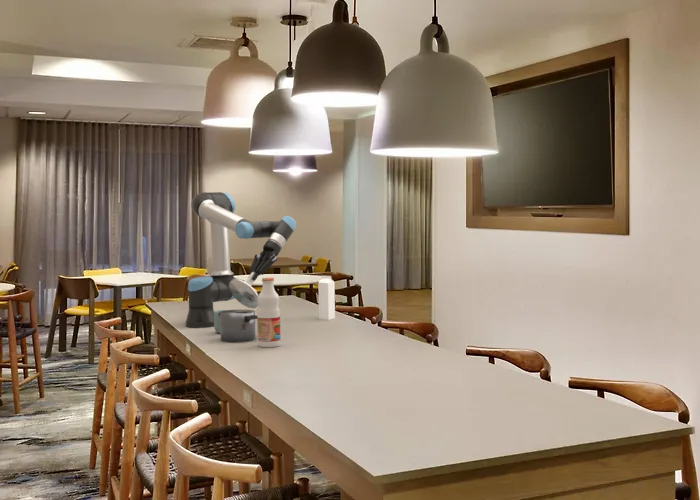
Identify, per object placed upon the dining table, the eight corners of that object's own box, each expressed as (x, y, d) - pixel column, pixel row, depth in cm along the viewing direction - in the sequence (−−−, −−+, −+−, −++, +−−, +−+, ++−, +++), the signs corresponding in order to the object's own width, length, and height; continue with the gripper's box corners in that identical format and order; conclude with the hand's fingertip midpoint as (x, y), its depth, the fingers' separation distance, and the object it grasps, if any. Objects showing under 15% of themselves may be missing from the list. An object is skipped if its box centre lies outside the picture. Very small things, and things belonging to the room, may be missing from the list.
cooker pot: (236, 334, 345) (235, 308, 344) (266, 339, 331) (266, 311, 331) (209, 339, 333) (208, 311, 333) (240, 344, 320) (239, 315, 319)
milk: (325, 317, 393) (324, 275, 392) (335, 318, 390) (334, 275, 389) (318, 319, 388) (318, 276, 387) (328, 320, 385) (328, 276, 384)
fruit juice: (257, 344, 320) (256, 277, 319) (280, 343, 322) (278, 276, 320) (257, 348, 311) (256, 279, 309) (281, 347, 312) (279, 278, 311)
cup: (227, 334, 346) (227, 312, 345) (211, 334, 347) (211, 312, 347) (233, 331, 353) (233, 310, 353) (217, 331, 355) (217, 309, 354)
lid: (240, 306, 343) (244, 302, 345) (264, 309, 332) (268, 304, 334) (223, 279, 335) (227, 274, 337) (247, 281, 325) (252, 276, 327)
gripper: (288, 251, 344) (262, 291, 333) (268, 250, 353) (242, 289, 341) (279, 239, 340) (252, 280, 328) (259, 239, 348) (232, 279, 337)
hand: (247, 285), depth 335 cm, fingers closed
